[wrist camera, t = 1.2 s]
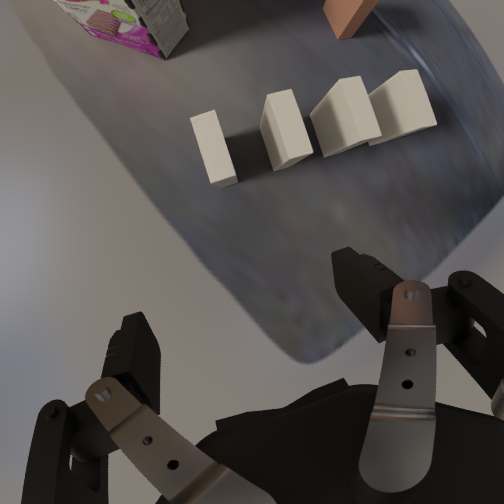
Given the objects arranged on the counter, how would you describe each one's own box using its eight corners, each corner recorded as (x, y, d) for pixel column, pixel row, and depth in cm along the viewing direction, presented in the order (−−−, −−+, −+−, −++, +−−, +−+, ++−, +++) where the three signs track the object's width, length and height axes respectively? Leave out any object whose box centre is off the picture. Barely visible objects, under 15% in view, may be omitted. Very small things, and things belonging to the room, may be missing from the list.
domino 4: (309, 114, 28) (339, 79, 18) (324, 111, 28) (360, 75, 18) (323, 157, 28) (361, 140, 18) (338, 153, 28) (382, 135, 18)
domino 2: (259, 127, 28) (267, 94, 18) (275, 123, 28) (291, 88, 18) (273, 171, 28) (289, 159, 19) (290, 166, 28) (313, 152, 19)
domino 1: (207, 143, 28) (190, 117, 18) (224, 138, 28) (214, 109, 18) (221, 187, 29) (210, 183, 19) (238, 182, 29) (235, 175, 19)
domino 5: (355, 104, 27) (400, 70, 18) (369, 102, 27) (417, 69, 18) (369, 146, 28) (421, 127, 18) (382, 142, 28) (437, 124, 18)
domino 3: (322, 8, 25) (347, -45, 15) (335, 7, 25) (363, -45, 15) (337, 39, 26) (370, -10, 16) (350, 38, 26) (386, -10, 16)
